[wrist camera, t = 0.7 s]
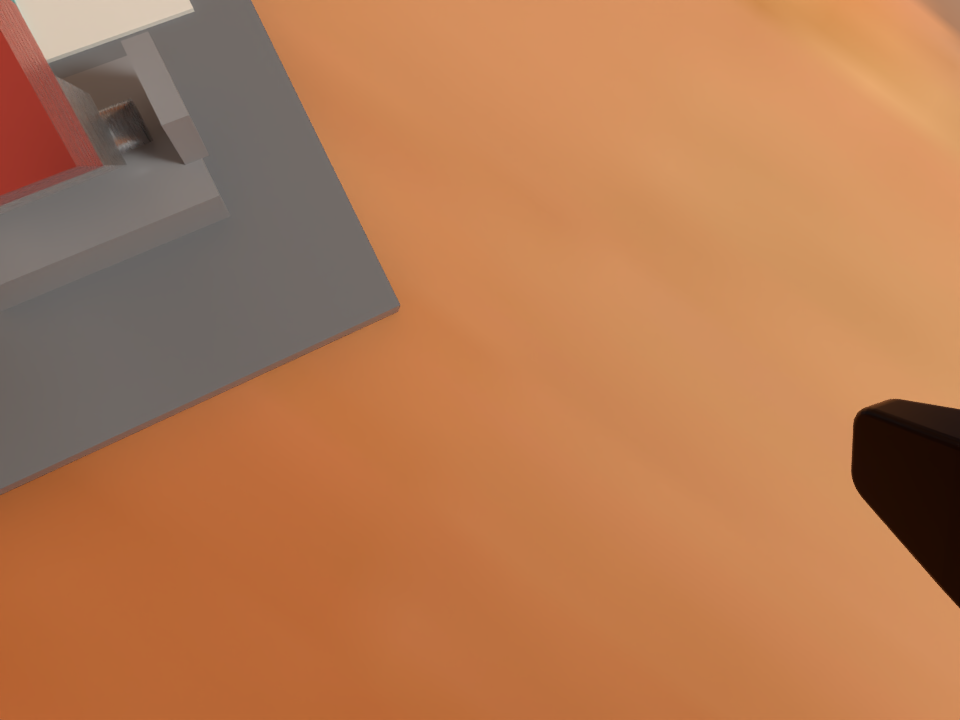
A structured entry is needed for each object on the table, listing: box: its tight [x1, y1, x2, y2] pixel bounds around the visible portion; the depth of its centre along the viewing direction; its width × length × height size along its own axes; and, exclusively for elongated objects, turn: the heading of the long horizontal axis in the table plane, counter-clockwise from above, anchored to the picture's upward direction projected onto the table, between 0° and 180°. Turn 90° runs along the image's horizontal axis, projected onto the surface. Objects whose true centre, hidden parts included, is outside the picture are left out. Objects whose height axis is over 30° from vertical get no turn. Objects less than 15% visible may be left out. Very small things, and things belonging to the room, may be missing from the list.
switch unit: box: [0, 0, 400, 495], centre depth 18 cm, size 16×12×5 cm
